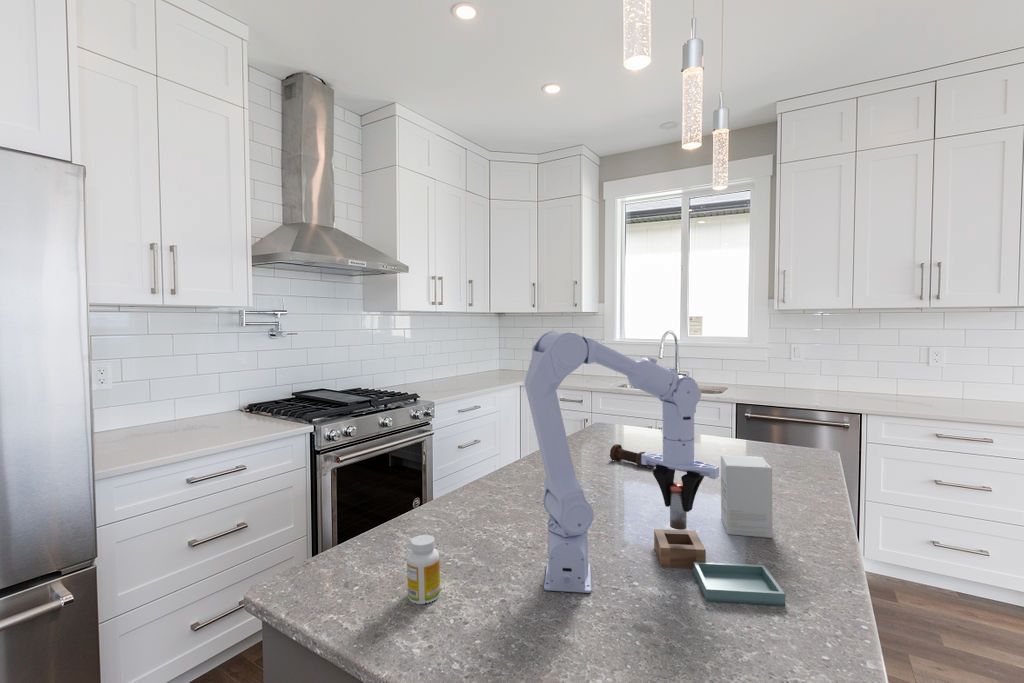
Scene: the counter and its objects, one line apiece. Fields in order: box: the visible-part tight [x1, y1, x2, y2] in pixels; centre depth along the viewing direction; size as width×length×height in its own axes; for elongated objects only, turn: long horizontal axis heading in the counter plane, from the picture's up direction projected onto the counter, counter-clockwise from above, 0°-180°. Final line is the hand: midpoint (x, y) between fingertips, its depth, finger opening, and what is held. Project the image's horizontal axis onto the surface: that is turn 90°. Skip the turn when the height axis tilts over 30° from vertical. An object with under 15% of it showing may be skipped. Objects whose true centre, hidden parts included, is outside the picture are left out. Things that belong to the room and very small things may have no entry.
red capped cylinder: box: [669, 481, 688, 530], centre depth 92 cm, size 3×3×8 cm
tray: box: [692, 561, 786, 607], centre depth 82 cm, size 9×12×2 cm
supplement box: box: [720, 454, 774, 539], centre depth 105 cm, size 9×9×15 cm
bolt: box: [609, 443, 656, 469], centre depth 153 cm, size 6×5×15 cm
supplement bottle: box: [406, 534, 441, 605], centre depth 81 cm, size 5×5×10 cm
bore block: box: [653, 528, 707, 569], centre depth 93 cm, size 8×8×4 cm
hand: (678, 507), depth 93 cm, fingers closed on red capped cylinder, 3 cm apart
